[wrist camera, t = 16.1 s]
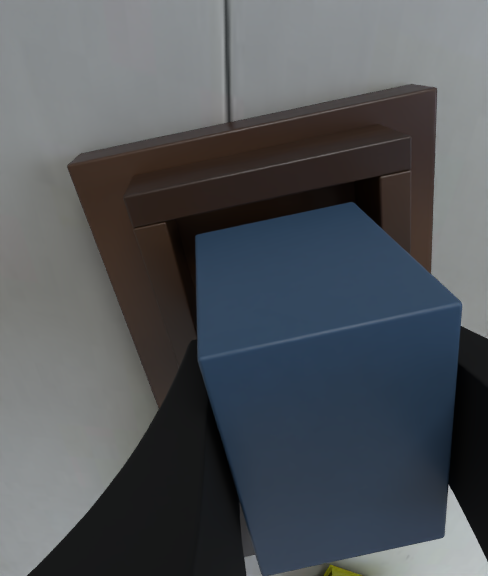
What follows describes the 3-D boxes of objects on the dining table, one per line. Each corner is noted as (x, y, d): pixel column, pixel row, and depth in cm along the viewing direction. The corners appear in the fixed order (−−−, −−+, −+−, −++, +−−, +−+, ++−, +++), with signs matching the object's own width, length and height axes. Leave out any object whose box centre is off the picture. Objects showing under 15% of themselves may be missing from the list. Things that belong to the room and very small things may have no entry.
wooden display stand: (409, 451, 20) (448, 521, 17) (202, 495, 20) (204, 573, 17) (412, 83, 13) (483, 92, 10) (78, 153, 13) (42, 185, 10)
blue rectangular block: (364, 382, 14) (445, 539, 9) (239, 409, 14) (261, 578, 9) (353, 200, 11) (464, 301, 6) (194, 233, 11) (196, 359, 6)
